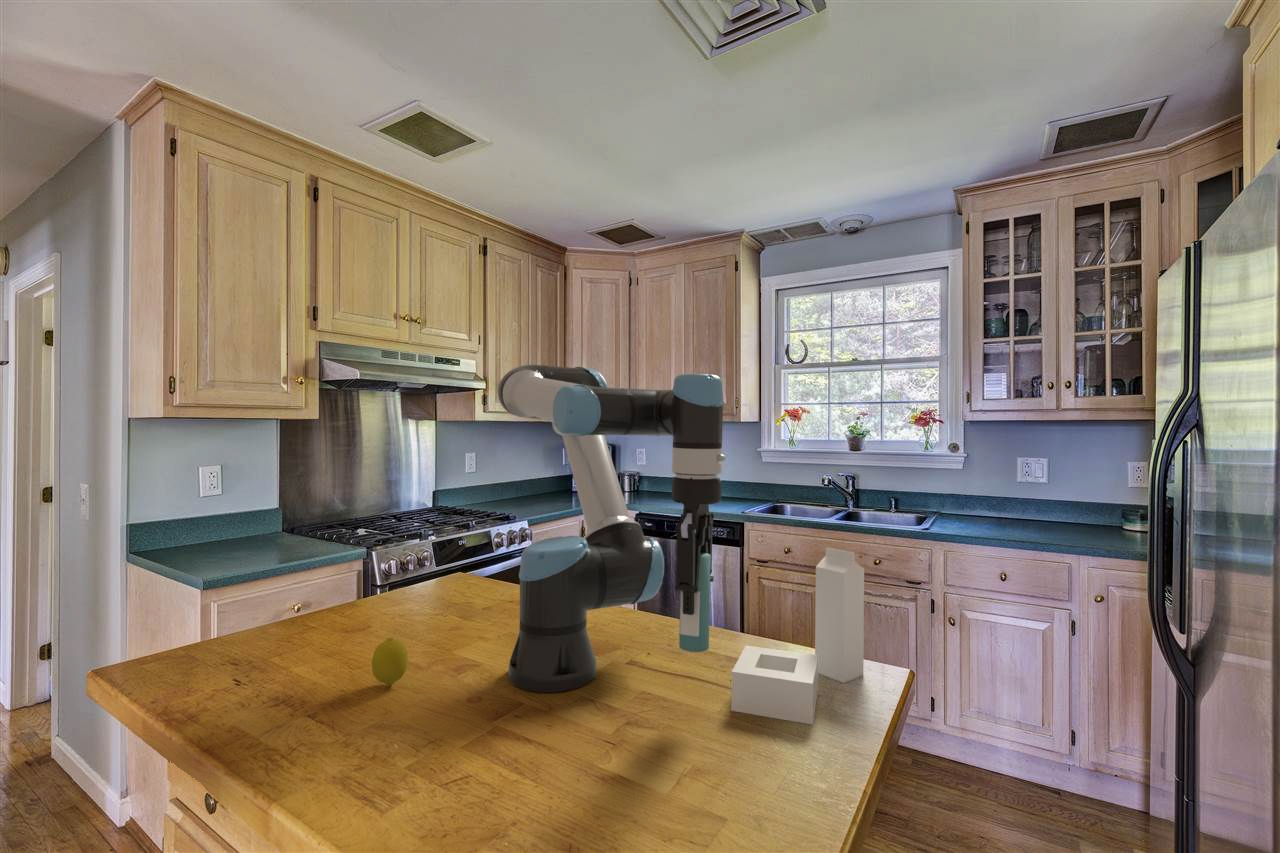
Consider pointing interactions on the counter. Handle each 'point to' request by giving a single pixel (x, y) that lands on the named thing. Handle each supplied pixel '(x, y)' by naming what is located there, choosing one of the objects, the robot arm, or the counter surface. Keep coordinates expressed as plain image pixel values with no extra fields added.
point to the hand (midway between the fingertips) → (694, 628)
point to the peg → (702, 640)
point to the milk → (839, 616)
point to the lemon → (389, 661)
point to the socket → (775, 684)
